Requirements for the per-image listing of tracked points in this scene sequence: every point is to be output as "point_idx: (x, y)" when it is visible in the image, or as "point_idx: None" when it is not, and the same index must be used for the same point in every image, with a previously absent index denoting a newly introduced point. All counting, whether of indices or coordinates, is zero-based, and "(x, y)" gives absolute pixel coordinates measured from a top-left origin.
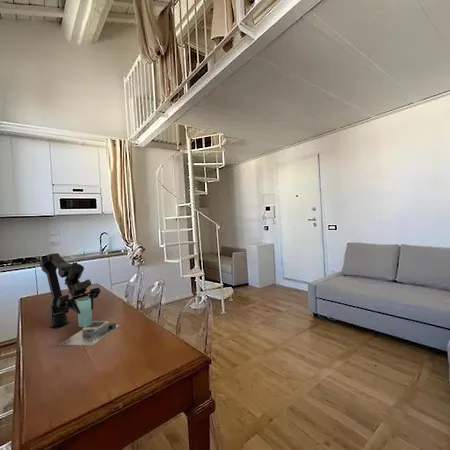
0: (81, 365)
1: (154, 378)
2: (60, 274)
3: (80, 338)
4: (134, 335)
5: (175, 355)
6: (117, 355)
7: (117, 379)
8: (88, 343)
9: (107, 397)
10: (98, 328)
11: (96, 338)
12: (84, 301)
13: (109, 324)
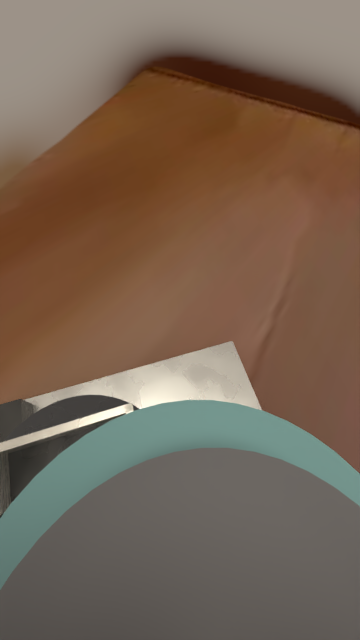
0: (330, 270)
1: (259, 102)
2: None
3: None
4: (69, 260)
5: (164, 103)
6: (228, 215)
7: (304, 150)
8: (231, 377)
9: (349, 134)
10: (130, 403)
11: (171, 388)
12: (297, 432)
13: (6, 438)
